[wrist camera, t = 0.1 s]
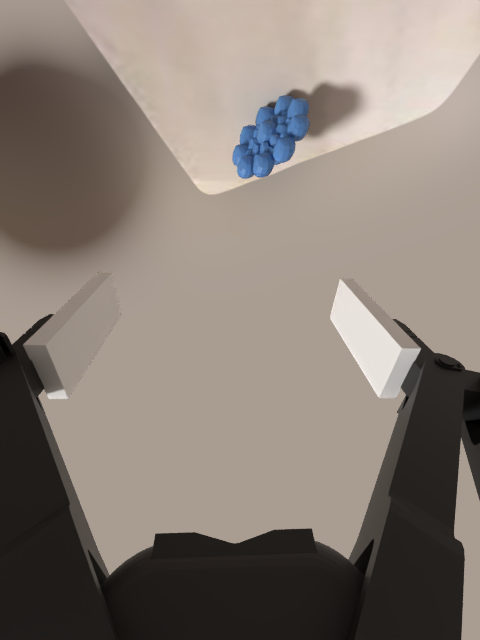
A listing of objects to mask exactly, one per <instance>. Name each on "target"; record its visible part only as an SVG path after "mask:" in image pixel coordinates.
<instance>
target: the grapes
mask: <svg viewBox="0 0 480 640" xmlns="http://www.w3.org/2000/svg"><path fill="white" fill-rule="evenodd" d="M308 110H309V104H308V101H307V100H306V99H304V98H297V99H294V98H293V97H291V96H281V97H279V99H278V101H277V103H276V106H275V108H274V109H273V108H272V107H262V108H260V109H259V111H258V114H257V117H256V126H254V125H248V126H245V127H243V129H242V132H241V135H240V145H237V146H236V147H235V149H234V152H233V159H232V160H233V163H234V165H236V166H237V172H238V175H239V176H240V177H241V178H250V177H252V176H253V175H255V176H257V177H265V176H268V175H269V174H270V173H271V171H272V169H273V167H274V165H278V164H280V163H284V162H287V161H288V160H290V158H291V157H292V155H293V153H294V151H295V145H296V144H295V141H300V140H302V139H303V138H304V137H305V135H306V134H307V131H308V129H309V124H310V121H309V118H308V117H307V114H308Z"/></svg>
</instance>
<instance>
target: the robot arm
mask: <svg viewBox="0 0 480 640" xmlns="http://www.w3.org/2000/svg"><path fill="white" fill-rule="evenodd" d="M120 316H121V311H120V306H119V301H118V297H117V292H116V288H115V283H114V279H113V274H112V273H109V272H98V273H97V274H96V275H95V276H94V277H93V278H92V279H91V280H90V281H89V282H87V283H86V284H85V285H84V286H83V287H82V288H81V289H80V290H79V291H78V292H77V293H76V294H75V295H74V296H73V297H72V298H71V299H70V300H69V301H68V302H67V303H66V304H65V305H64V306H63V307H62V308H61V309H60V310H58V311H57V312H56V313H55V314H50V315H48V316H46V317H44V318H42V319H40V320H39V321H37V322H36V323H35V324H34V325H33V326H32V328H30V329H29V330H28V331H27V332H26V334H23V335H22V336H21V337H20V338H19V339H18V340H17V341H16V342H15V343H13V344H11V342H10V340H9V339H8V337H7V335H6V334H5V333H2V332H0V640H461V631H462V630H461V629H462V608H463V584H464V560H465V558H464V548H463V545H462V543H461V542H460V541H458V540H457V539H455V537H454V520H455V508H456V494H457V481H458V468H459V455H460V441H461V438H462V441H463V445H464V448H465V451H466V455H467V458H468V461H469V465H470V468H471V472H472V476H473V479H474V482H475V486H476V489H477V493H478V496H479V499H480V373H478V372H474V371H469V370H465V367H464V366H463V365H462V364H461V363H460V362H458V361H457V360H455V359H454V358H451V357H449V356H447V355H443V354H439V353H434V352H433V351H432V350H431V349H429V348H428V347H427V346H426V345H425V344H424V343H423V342H422V341H421V340H420V339H419V338H417V336H416V335H415V334H414V333H413V332H412V331H411V330H410V329H409V328H408V327H407V326H406V325H405V324H403V323H401V322H400V321H398V320H396V319H392V318H391V317H390V316H389V315H388V314H387V313H386V312H385V311H384V310H383V309H382V308H381V307H380V306H379V305H378V304H377V303H376V302H375V301H374V300H373V299H372V298H371V297H370V296H369V295H368V294H367V293H366V292H365V291H364V290H363V289H362V288H361V287H360V286H359V285H358V284H357V283H356V282H355V281H354V280H353V279H341V278H340V282H339V285H338V289H337V293H336V297H335V300H334V304H333V308H332V312H331V316H330V319H331V321H332V322H333V324H334V326H335V327H336V329H337V330H338V332H339V334H340V335H341V337H342V339H343V340H344V342H345V343H346V345H347V347H348V348H349V350H350V352H351V353H352V355H353V356H354V358H355V360H356V361H357V363H358V365H359V366H360V368H361V370H362V371H363V373H364V374H365V376H366V377H367V379H368V381H369V383H370V384H371V386H372V387H373V389H374V391H375V392H376V394H377V395H378V397H379V398H396V397H397V395H398V393H399V391H400V389H401V388H402V390H403V391H404V392H405V394H406V396H405V398H404V400H403V402H402V404H401V406H400V408H399V409H398V411H397V413H398V414H399V415H398V418H397V421H396V424H395V427H394V430H393V433H392V436H391V439H390V442H389V445H388V448H387V451H386V454H385V457H384V460H383V463H382V466H381V469H380V473H379V475H378V479H377V481H376V484H375V488H374V491H373V494H372V497H371V500H370V503H369V506H368V509H367V512H366V515H365V518H364V521H363V524H362V527H361V530H360V533H359V536H358V539H357V542H356V544H355V546H354V549H353V551H352V553H351V555H350V557H349V560H348V559H346V558H345V557H344V556H343V555H341V554H340V553H339V552H337V551H335V550H334V549H332V548H330V547H329V546H326V545H324V544H322V543H320V542H316V541H314V537H313V532H312V529H285V530H273V531H270V532H267V533H265V534H262V535H259V536H257V537H254V538H251V539H248V540H246V541H243V542H240V543H236V544H233V543H229V542H226V541H222V540H219V539H216V538H212V537H208V536H205V535H202V534H198V533H195V532H193V533H163V534H155V540H154V546H153V547H150V548H147V549H145V550H143V551H141V552H139V553H137V554H136V555H134V556H133V557H131V558H130V559H128V560H127V561H125V562H124V563H123V564H122V565H121V566H119V567H118V568H117V569H116V570H115V571H114V572H113V573H112V574H111V575H109V573H108V571H107V568H106V566H105V564H104V562H103V560H102V558H101V555H100V553H99V551H98V549H97V546H96V543H95V541H94V539H93V536H92V533H91V531H90V528H89V526H88V523H87V520H86V518H85V515H84V512H83V510H82V507H81V505H80V502H79V500H78V497H77V494H76V492H75V489H74V487H73V484H72V481H71V479H70V476H69V474H68V471H67V469H66V466H65V463H64V461H63V458H62V456H61V454H60V451H59V448H58V445H57V443H56V440H55V438H54V435H53V433H52V430H51V427H50V425H49V422H48V420H47V418H46V415H45V412H44V409H43V407H42V404H41V402H40V400H39V398H38V395H39V394H40V393H41V392H42V390H43V389H44V390H45V392H46V394H47V396H48V398H49V399H69V397H70V395H71V394H72V392H73V391H74V389H75V387H76V386H77V384H78V383H79V381H80V380H81V378H82V376H83V375H84V373H85V371H86V370H87V368H88V367H89V365H90V364H91V362H92V360H93V359H94V357H95V356H96V354H97V352H98V351H99V349H100V348H101V346H102V345H103V343H104V341H105V340H106V338H107V337H108V335H109V333H110V332H111V330H112V329H113V327H114V325H115V324H116V322H117V321H118V319H119V318H120Z"/></svg>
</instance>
